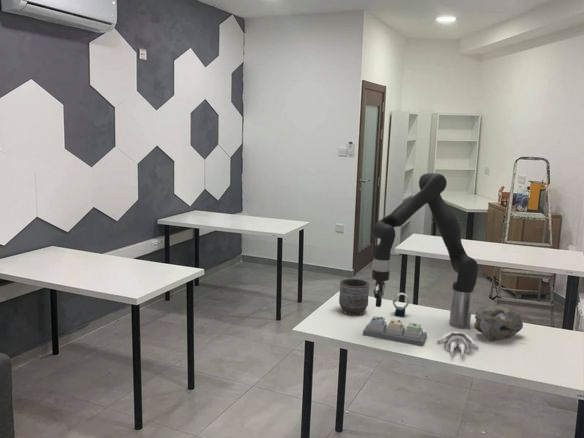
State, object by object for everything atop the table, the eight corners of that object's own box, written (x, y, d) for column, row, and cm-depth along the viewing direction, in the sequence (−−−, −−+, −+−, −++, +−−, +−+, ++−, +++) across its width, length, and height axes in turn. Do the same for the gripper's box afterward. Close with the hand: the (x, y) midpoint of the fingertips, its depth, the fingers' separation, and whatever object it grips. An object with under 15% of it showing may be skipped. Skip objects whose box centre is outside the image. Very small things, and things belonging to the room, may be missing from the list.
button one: (420, 331, 225) (421, 323, 224) (418, 335, 220) (419, 327, 219) (408, 329, 227) (409, 321, 226) (406, 333, 222) (407, 325, 221)
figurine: (478, 364, 202) (478, 341, 226) (481, 343, 201) (480, 322, 224) (434, 357, 208) (438, 335, 231) (436, 336, 206) (439, 316, 229)
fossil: (466, 335, 230) (469, 303, 227) (496, 326, 242) (500, 296, 239) (494, 347, 218) (497, 314, 215) (524, 337, 230) (528, 305, 227)
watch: (392, 311, 256) (393, 290, 254) (408, 314, 254) (410, 292, 252) (390, 315, 251) (392, 294, 249) (407, 318, 249) (409, 296, 247)
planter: (336, 314, 250) (338, 285, 247) (340, 305, 264) (342, 276, 261) (365, 318, 247) (367, 288, 244) (368, 308, 260) (370, 279, 258)
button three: (384, 325, 231) (384, 317, 230) (381, 329, 226) (382, 321, 225) (373, 323, 233) (373, 315, 232) (370, 327, 228) (370, 319, 227)
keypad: (426, 336, 227) (427, 327, 226) (422, 346, 217) (423, 336, 216) (369, 326, 237) (369, 317, 236) (362, 335, 227) (363, 325, 226)
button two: (402, 328, 228) (402, 320, 227) (399, 332, 223) (400, 324, 222) (390, 326, 230) (391, 318, 229) (388, 330, 225) (389, 322, 224)
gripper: (386, 273, 217) (383, 312, 220) (392, 266, 229) (389, 303, 232) (368, 271, 220) (366, 309, 223) (376, 263, 232) (373, 300, 235)
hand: (378, 306), depth 228 cm, fingers closed
